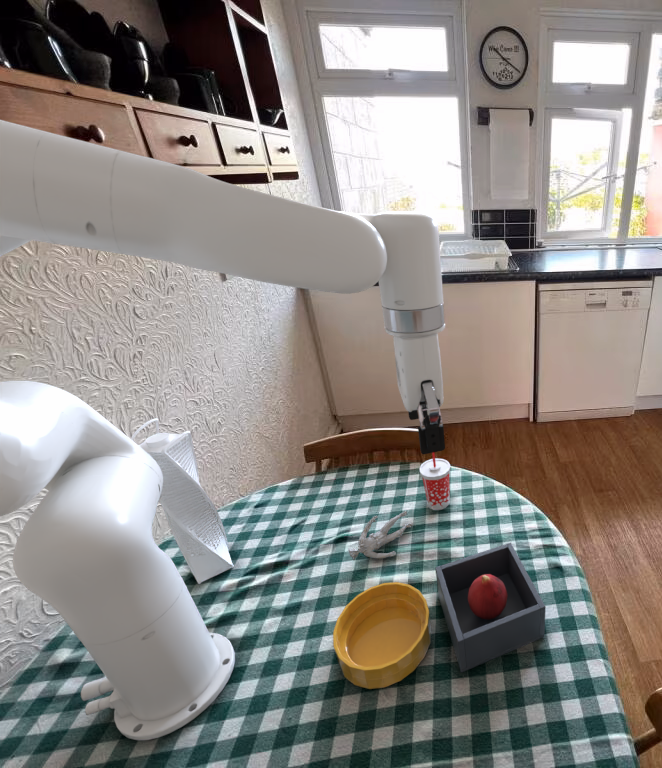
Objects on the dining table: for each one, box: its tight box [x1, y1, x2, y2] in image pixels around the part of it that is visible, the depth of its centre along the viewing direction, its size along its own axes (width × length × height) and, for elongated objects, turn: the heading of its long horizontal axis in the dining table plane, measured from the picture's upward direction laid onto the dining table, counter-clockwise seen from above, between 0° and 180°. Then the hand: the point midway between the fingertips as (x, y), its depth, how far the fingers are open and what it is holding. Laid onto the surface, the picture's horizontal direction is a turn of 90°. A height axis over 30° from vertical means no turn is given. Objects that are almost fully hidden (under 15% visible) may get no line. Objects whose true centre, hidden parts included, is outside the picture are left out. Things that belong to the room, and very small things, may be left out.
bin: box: [434, 542, 546, 673], centre depth 62 cm, size 13×13×7 cm
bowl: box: [332, 581, 433, 690], centre depth 59 cm, size 13×13×4 cm
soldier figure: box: [347, 510, 414, 561], centre depth 75 cm, size 8×5×12 cm
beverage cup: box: [419, 452, 451, 511], centre depth 83 cm, size 6×6×14 cm
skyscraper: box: [130, 417, 235, 585], centre depth 66 cm, size 8×8×28 cm
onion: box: [468, 574, 508, 620], centre depth 61 cm, size 6×6×8 cm
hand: (426, 433), depth 59 cm, fingers open, 9 cm apart
